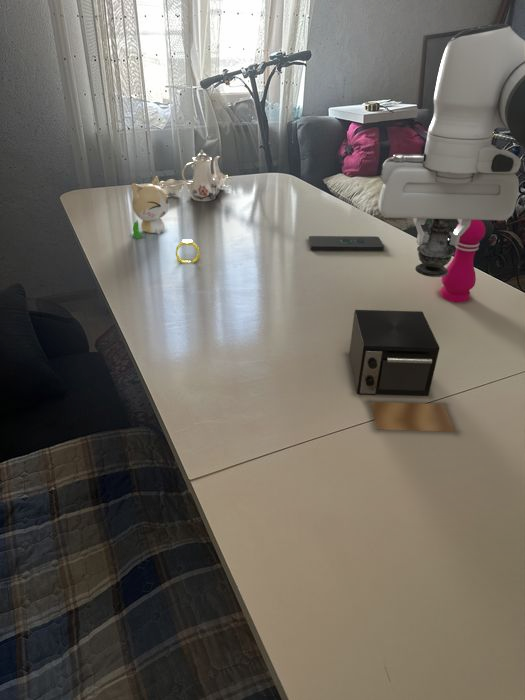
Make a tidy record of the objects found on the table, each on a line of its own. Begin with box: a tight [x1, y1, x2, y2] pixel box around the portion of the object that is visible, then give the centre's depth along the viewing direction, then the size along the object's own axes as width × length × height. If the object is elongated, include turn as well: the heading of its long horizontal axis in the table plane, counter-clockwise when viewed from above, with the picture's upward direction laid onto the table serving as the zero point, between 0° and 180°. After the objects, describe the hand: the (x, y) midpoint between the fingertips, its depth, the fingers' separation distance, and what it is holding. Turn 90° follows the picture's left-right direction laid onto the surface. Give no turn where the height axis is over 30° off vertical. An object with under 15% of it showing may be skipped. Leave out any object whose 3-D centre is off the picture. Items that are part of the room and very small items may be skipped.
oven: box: [348, 309, 441, 397], centre depth 88 cm, size 12×14×10 cm
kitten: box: [131, 175, 170, 239], centre depth 147 cm, size 15×10×15 cm
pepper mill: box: [440, 220, 486, 303], centre depth 112 cm, size 7×7×20 cm
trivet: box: [370, 401, 456, 433], centre depth 82 cm, size 12×7×1 cm, turn 88°
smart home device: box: [308, 235, 385, 252], centre depth 143 cm, size 8×2×20 cm
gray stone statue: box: [415, 219, 456, 278], centre depth 82 cm, size 6×6×12 cm
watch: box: [175, 238, 200, 264], centre depth 131 cm, size 6×3×6 cm, turn 98°
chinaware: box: [159, 149, 232, 202], centre depth 178 cm, size 28×17×17 cm, turn 130°
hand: (437, 244), depth 83 cm, fingers closed on gray stone statue, 3 cm apart
